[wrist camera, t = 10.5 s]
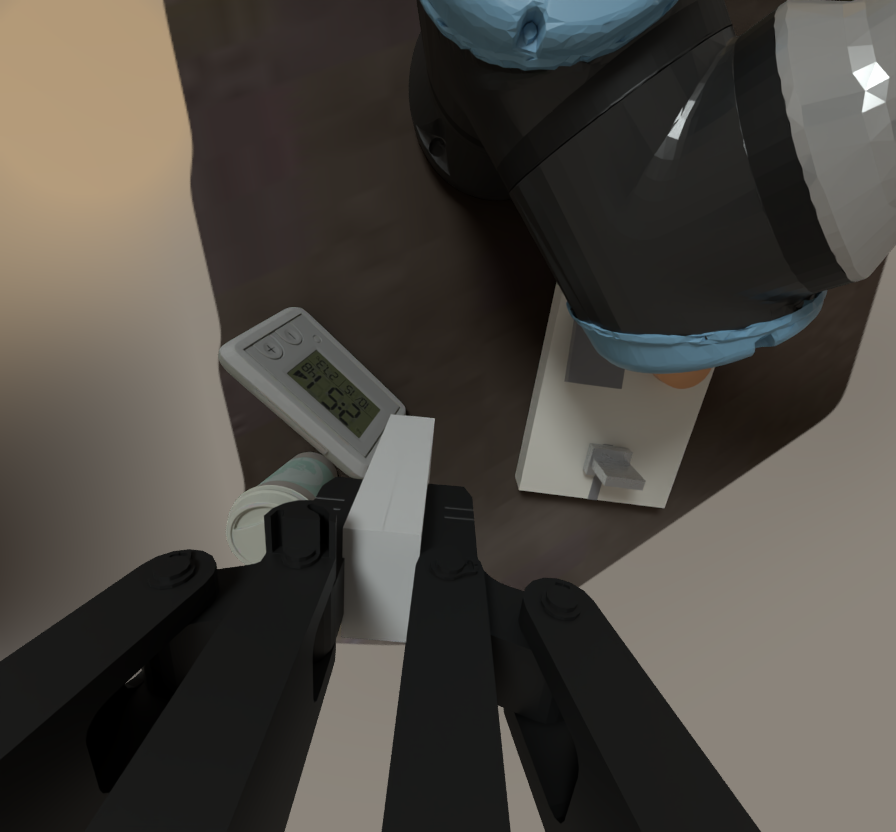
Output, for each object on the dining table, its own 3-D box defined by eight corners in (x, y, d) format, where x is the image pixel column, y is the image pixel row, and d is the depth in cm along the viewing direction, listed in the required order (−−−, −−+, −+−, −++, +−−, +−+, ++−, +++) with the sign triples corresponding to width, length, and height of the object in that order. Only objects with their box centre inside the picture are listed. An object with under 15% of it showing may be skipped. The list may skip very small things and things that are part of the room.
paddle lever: (589, 443, 42) (607, 465, 37) (628, 448, 42) (651, 471, 37) (582, 469, 43) (599, 494, 38) (620, 474, 43) (641, 500, 38)
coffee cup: (354, 448, 46) (321, 506, 35) (344, 512, 49) (312, 586, 38) (277, 433, 46) (219, 487, 34) (272, 499, 49) (217, 569, 37)
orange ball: (644, 325, 41) (668, 333, 37) (690, 332, 41) (721, 340, 37) (630, 372, 43) (652, 385, 38) (675, 378, 43) (703, 392, 38)
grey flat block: (575, 312, 38) (579, 310, 37) (628, 319, 38) (633, 317, 37) (564, 381, 38) (567, 381, 37) (616, 388, 39) (622, 389, 37)
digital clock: (415, 416, 45) (404, 459, 35) (349, 457, 47) (320, 508, 37) (323, 284, 40) (279, 289, 30) (253, 334, 42) (190, 354, 32)
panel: (557, 274, 40) (567, 275, 36) (718, 297, 40) (742, 300, 37) (515, 476, 47) (519, 492, 44) (651, 494, 48) (666, 510, 44)
